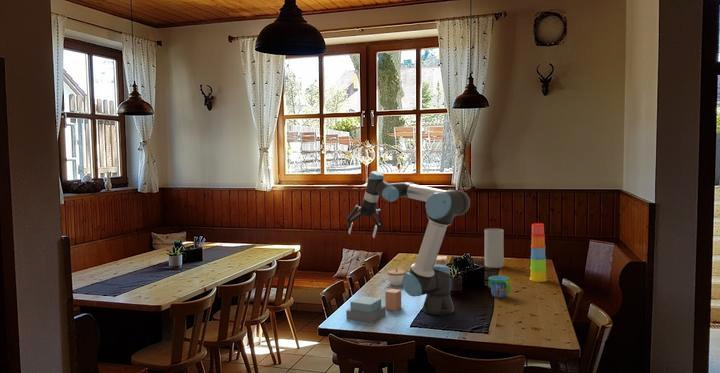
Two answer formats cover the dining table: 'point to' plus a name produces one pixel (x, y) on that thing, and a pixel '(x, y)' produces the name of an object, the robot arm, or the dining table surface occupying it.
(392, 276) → the lidded jar
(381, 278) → the dining table surface
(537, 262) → the stacking cups
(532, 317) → the dining table surface
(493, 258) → the cylinder vase
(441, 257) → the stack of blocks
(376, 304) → the grey stepped block
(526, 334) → the dining table surface
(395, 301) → the terracotta brick
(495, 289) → the snack cup
